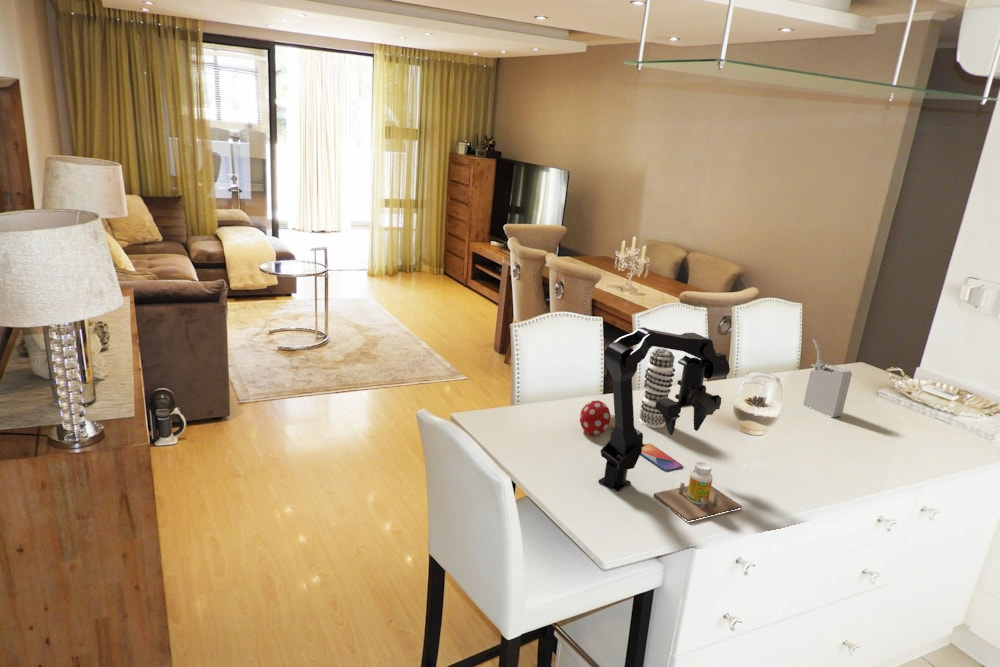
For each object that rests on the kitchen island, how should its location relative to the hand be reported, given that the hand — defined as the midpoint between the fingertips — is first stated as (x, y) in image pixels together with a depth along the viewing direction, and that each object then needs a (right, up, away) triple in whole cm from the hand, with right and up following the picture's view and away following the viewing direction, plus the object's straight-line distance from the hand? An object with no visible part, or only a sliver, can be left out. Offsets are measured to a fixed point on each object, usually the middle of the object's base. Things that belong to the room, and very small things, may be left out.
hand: (683, 432), depth 184 cm
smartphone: (-5, -10, +11) cm, 15 cm away
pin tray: (0, -16, -13) cm, 21 cm away
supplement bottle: (0, -16, -13) cm, 20 cm away
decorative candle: (-1, -2, +35) cm, 35 cm away
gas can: (+66, -1, +59) cm, 89 cm away
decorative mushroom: (-19, -4, +25) cm, 32 cm away
